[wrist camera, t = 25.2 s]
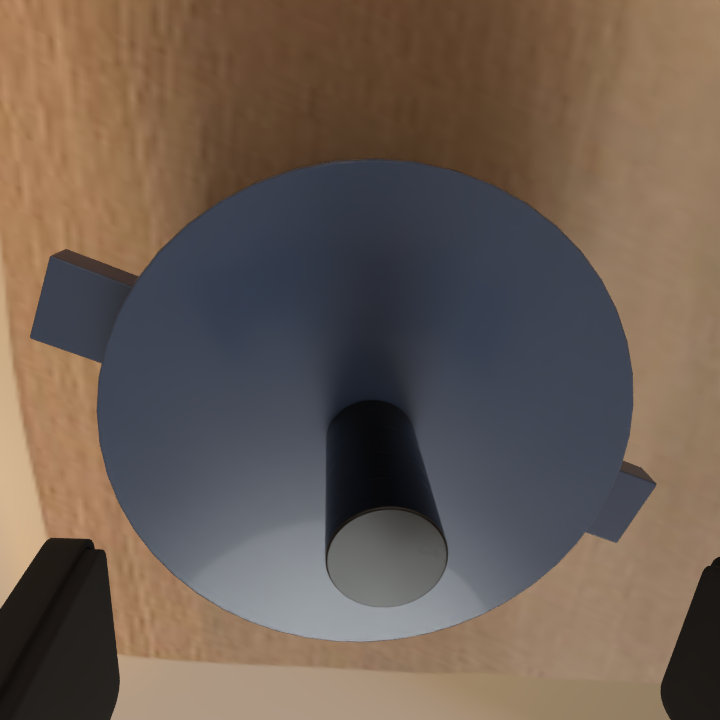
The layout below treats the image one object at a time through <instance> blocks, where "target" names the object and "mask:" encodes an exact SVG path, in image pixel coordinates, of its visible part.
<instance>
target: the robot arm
mask: <svg viewBox="0 0 720 720" xmlns="http://www.w3.org/2000/svg"><path fill="white" fill-rule="evenodd" d="M119 684H120V677H119V667H118V658H117V649H116V640H115V631H114V622H113V613H112V604H111V595H110V586H109V577H108V568H107V559H106V553H105V551H104V550H100V549H95V548H94V543H93V542H92V540H90V539H70V538H50V539H48V540H47V541H46V542H45V543H44V545H43V546H42V547H41V549H40V551H39V552H38V553H37V555H36V556H35V558H34V559H33V561H32V562H31V564H30V565H29V567H28V568H27V570H26V571H25V573H24V574H23V576H22V578H21V579H20V580H19V582H18V583H17V585H16V586H15V588H14V590H13V591H12V592H11V594H10V595H9V597H8V599H7V600H6V601H5V603H4V604H3V606H2V607H1V609H0V720H110V719H111V716H112V713H113V711H114V708H115V705H116V701H117V697H118V692H119ZM661 699H662V702H663V706H664V708H665V710H666V712H667V714H668V716H669V718H670V719H671V720H720V557H718V558H716V559H715V560H714V561H713V562H712V564H711V566H707V567H706V568H705V569H704V571H703V572H702V575H701V578H700V580H699V583H698V586H697V588H696V591H695V594H694V597H693V599H692V602H691V605H690V607H689V610H688V613H687V616H686V618H685V621H684V624H683V626H682V629H681V632H680V635H679V637H678V640H677V643H676V645H675V648H674V651H673V654H672V656H671V659H670V662H669V664H668V667H667V670H666V672H665V675H664V678H663V681H662V684H661Z"/></svg>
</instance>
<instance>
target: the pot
mask: <svg viewBox="0 0 720 720" xmlns="http://www.w3.org/2000/svg"><path fill="white" fill-rule="evenodd" d="M320 163H322V162H320ZM137 278H138V276H136V275H133V274H130V273H128V272H125V271H123V270H120V269H117V268H115V267H112V266H109V265H107V264H104V263H102V262H99V261H96V260H94V259H91V258H88V257H86V256H83V255H81V254H78V253H75V252H73V251H70V250H67V249H65V250H63V251H60V252H58V253H56V254H54V255H52V256H50V259H49V263H48V267H47V271H46V275H45V279H44V283H43V287H42V291H41V295H40V299H39V303H38V307H37V311H36V315H35V319H34V323H33V327H32V331H31V335H30V338H31V339H34V340H37V341H40V342H42V343H45V344H48V345H51V346H54V347H57V348H60V349H62V350H65V351H68V352H71V353H74V354H77V355H80V356H83V357H85V358H88V359H91V360H94V361H97V362H100V363H102V360H103V355H104V351H105V346H106V343H107V340H108V337H109V335H110V332H111V330H112V327H113V324H114V322H115V319H116V316H117V314H118V311H119V310H120V308H121V306H122V304H123V303H124V301H125V299H126V297H127V295H128V294H129V292H130V290H131V288H132V287H133V285H134V283H135V281H136V280H137ZM655 486H656V483H655V482H654V481H653V480H652V479H651V478H650V476H649V475H648V474H647V473H646V472H645V471H644V470H643V469H642V468H641V467H638V466H635V465H633V464H630V463H627V462H625V461H623V462H622V465H621V468H620V470H619V472H618V475H617V477H616V480H615V482H614V484H613V487H612V489H611V492H610V494H609V496H608V497H607V499H606V501H605V502H604V504H603V506H602V508H601V509H600V511H599V513H598V515H597V516H596V518H595V520H594V521H593V522H592V524H591V525H590V526H589V528H588V529H587V530H586V533H589V534H592V535H595V536H598V537H601V538H604V539H606V540H609V541H612V542H615V543H617V542H618V540H619V539H620V538H621V536H622V535H623V533H624V532H625V530H626V529H627V527H628V526H629V524H630V523H631V522H632V520H633V519H634V517H635V516H636V514H637V513H638V511H639V510H640V508H641V507H642V505H643V504H644V503H645V501H646V500H647V498H648V497H649V495H650V494H651V492H652V491H653V489H654V488H655Z"/></svg>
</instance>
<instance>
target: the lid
mask: <svg viewBox="0 0 720 720" xmlns="http://www.w3.org/2000/svg"><path fill="white" fill-rule="evenodd" d="M632 411H633V373H632V367H631V361H630V355H629V349H628V343H627V339H626V336H625V333H624V330H623V327H622V324H621V321H620V318H619V315H618V312H617V309H616V307H615V305H614V303H613V301H612V299H611V297H610V295H609V293H608V291H607V289H606V287H605V285H604V283H603V281H602V279H601V278H600V277H599V275H598V274H597V272H596V271H595V270H594V268H593V267H592V266H591V264H590V263H589V261H588V260H587V259H586V257H585V256H584V254H583V253H582V252H581V250H580V249H579V248H578V247H577V246H576V245H575V244H574V243H573V242H572V241H571V240H570V239H569V238H568V237H567V236H566V235H565V234H564V233H563V232H562V231H561V230H560V229H559V228H558V227H557V226H556V225H555V224H554V223H552V222H551V221H550V220H548V219H547V218H546V217H544V216H543V215H542V214H540V213H539V212H538V211H537V210H535V209H534V208H533V207H531V206H530V205H529V204H527V203H526V202H524V201H522V200H520V199H519V198H517V197H515V196H513V195H511V194H509V193H508V192H506V191H504V190H502V189H500V188H499V187H497V186H495V185H493V184H491V183H488V182H485V181H483V180H480V179H477V178H475V177H472V176H469V175H467V174H464V173H461V172H459V171H456V170H453V169H448V168H444V167H439V166H435V165H430V164H426V163H421V162H417V161H408V160H396V159H383V158H363V159H347V160H333V161H328V162H323V163H318V164H313V165H308V166H303V167H298V168H294V169H291V170H288V171H285V172H283V173H280V174H277V175H274V176H271V177H268V178H265V179H263V180H260V181H257V182H255V183H253V184H251V185H249V186H247V187H245V188H243V189H241V190H239V191H238V192H236V193H234V194H232V195H230V196H228V197H226V198H224V199H222V200H221V201H219V202H218V203H216V204H215V205H213V206H212V207H211V208H209V209H208V210H206V211H205V212H204V213H202V214H201V215H199V216H198V217H196V218H195V219H194V220H192V221H191V222H189V223H188V224H187V225H186V226H185V227H184V228H183V229H181V230H180V231H179V232H178V233H177V234H176V235H175V236H174V237H173V238H172V239H171V240H170V241H169V242H168V243H167V244H166V245H165V246H164V247H163V248H162V249H160V250H159V252H158V253H157V254H156V255H155V257H154V258H153V259H152V261H151V262H150V263H149V264H148V266H147V267H146V268H145V269H144V271H143V272H142V273H141V275H140V276H139V277H138V278H137V280H136V281H135V283H134V285H133V287H132V288H131V290H130V292H129V294H128V295H127V297H126V299H125V301H124V303H123V304H122V306H121V308H120V310H119V311H118V314H117V316H116V319H115V322H114V324H113V327H112V330H111V332H110V335H109V337H108V340H107V343H106V346H105V351H104V355H103V360H102V365H101V369H100V374H99V381H98V397H97V419H98V431H99V442H100V447H101V451H102V455H103V459H104V463H105V467H106V472H107V475H108V478H109V480H110V483H111V485H112V487H113V490H114V492H115V495H116V497H117V500H118V502H119V504H120V506H121V508H122V510H123V511H124V513H125V515H126V517H127V518H128V520H129V522H130V524H131V525H132V527H133V529H134V530H135V532H136V533H137V534H138V535H139V537H140V538H141V539H142V541H143V542H144V543H145V545H146V546H147V547H148V548H149V550H150V551H151V552H152V554H153V555H154V556H155V557H156V558H157V559H158V560H159V561H160V562H161V563H162V564H163V565H164V566H165V567H166V568H167V569H168V570H169V571H170V572H171V573H172V574H173V575H174V576H176V577H177V578H178V579H179V580H181V581H182V582H183V583H185V584H186V585H187V586H188V587H190V588H191V589H192V590H193V591H195V592H196V593H197V594H199V595H201V596H202V597H204V598H205V599H207V600H209V601H210V602H212V603H214V604H215V605H217V606H219V607H220V608H222V609H224V610H226V611H228V612H230V613H232V614H234V615H237V616H239V617H241V618H243V619H245V620H247V621H249V622H252V623H255V624H258V625H261V626H264V627H267V628H270V629H273V630H276V631H279V632H284V633H288V634H292V635H297V636H301V637H306V638H313V639H321V640H330V641H345V642H371V641H384V640H396V639H402V638H407V637H412V636H418V635H423V634H428V633H431V632H435V631H438V630H442V629H445V628H448V627H452V626H455V625H458V624H460V623H463V622H465V621H468V620H470V619H473V618H475V617H478V616H480V615H482V614H484V613H486V612H488V611H490V610H492V609H494V608H496V607H498V606H500V605H501V604H503V603H505V602H507V601H509V600H510V599H512V598H513V597H515V596H516V595H518V594H519V593H521V592H522V591H524V590H525V589H527V588H528V587H530V586H531V585H533V584H534V583H535V582H537V581H538V580H539V579H540V578H541V577H542V576H544V575H545V574H546V573H547V572H548V571H550V570H551V569H552V568H553V567H554V566H556V565H557V564H558V563H559V562H560V560H561V559H562V558H563V557H564V556H565V555H566V554H567V553H568V552H569V551H570V550H571V549H572V548H573V547H574V546H575V545H576V544H577V542H578V541H579V540H580V538H581V537H582V536H583V534H584V533H585V532H586V530H587V529H588V528H589V526H590V525H591V524H592V522H593V521H594V520H595V518H596V516H597V515H598V513H599V511H600V509H601V508H602V506H603V504H604V502H605V501H606V499H607V497H608V496H609V494H610V492H611V489H612V487H613V484H614V482H615V480H616V477H617V475H618V472H619V470H620V468H621V465H622V462H623V458H624V454H625V450H626V447H627V443H628V439H629V435H630V427H631V419H632Z"/></svg>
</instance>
